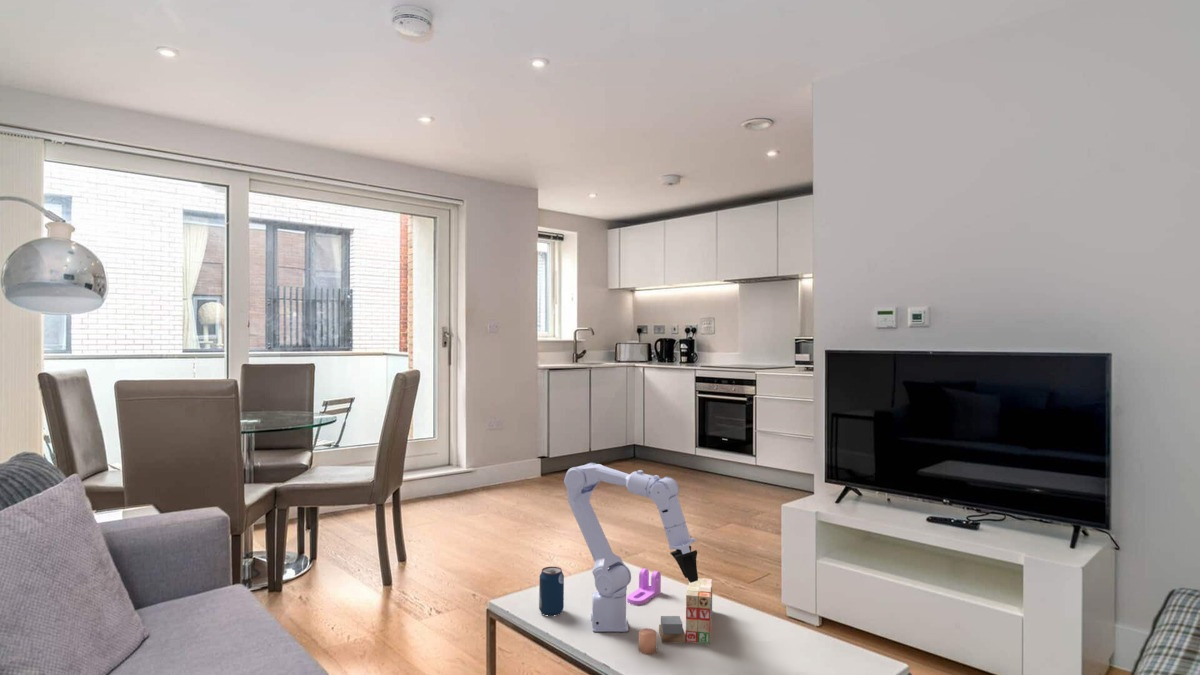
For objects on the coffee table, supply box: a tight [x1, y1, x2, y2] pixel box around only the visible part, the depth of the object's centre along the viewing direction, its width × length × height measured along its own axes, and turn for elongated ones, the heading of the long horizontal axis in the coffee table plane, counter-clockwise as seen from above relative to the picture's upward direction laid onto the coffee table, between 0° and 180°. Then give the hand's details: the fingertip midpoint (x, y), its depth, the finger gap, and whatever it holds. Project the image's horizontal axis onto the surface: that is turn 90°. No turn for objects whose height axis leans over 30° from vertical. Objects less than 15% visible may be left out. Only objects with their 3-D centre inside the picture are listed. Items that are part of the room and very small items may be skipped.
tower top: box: [660, 615, 684, 634], centre depth 167 cm, size 5×5×2 cm
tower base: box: [658, 624, 686, 644], centre depth 167 cm, size 6×6×2 cm
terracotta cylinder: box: [638, 627, 658, 656], centre depth 160 cm, size 4×4×4 cm
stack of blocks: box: [685, 577, 713, 645], centre depth 175 cm, size 21×6×12 cm, turn 169°
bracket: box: [626, 568, 662, 606], centre depth 194 cm, size 13×6×7 cm, turn 147°
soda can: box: [538, 566, 565, 617], centre depth 182 cm, size 7×7×12 cm
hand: (691, 579), depth 162 cm, fingers open, 7 cm apart
